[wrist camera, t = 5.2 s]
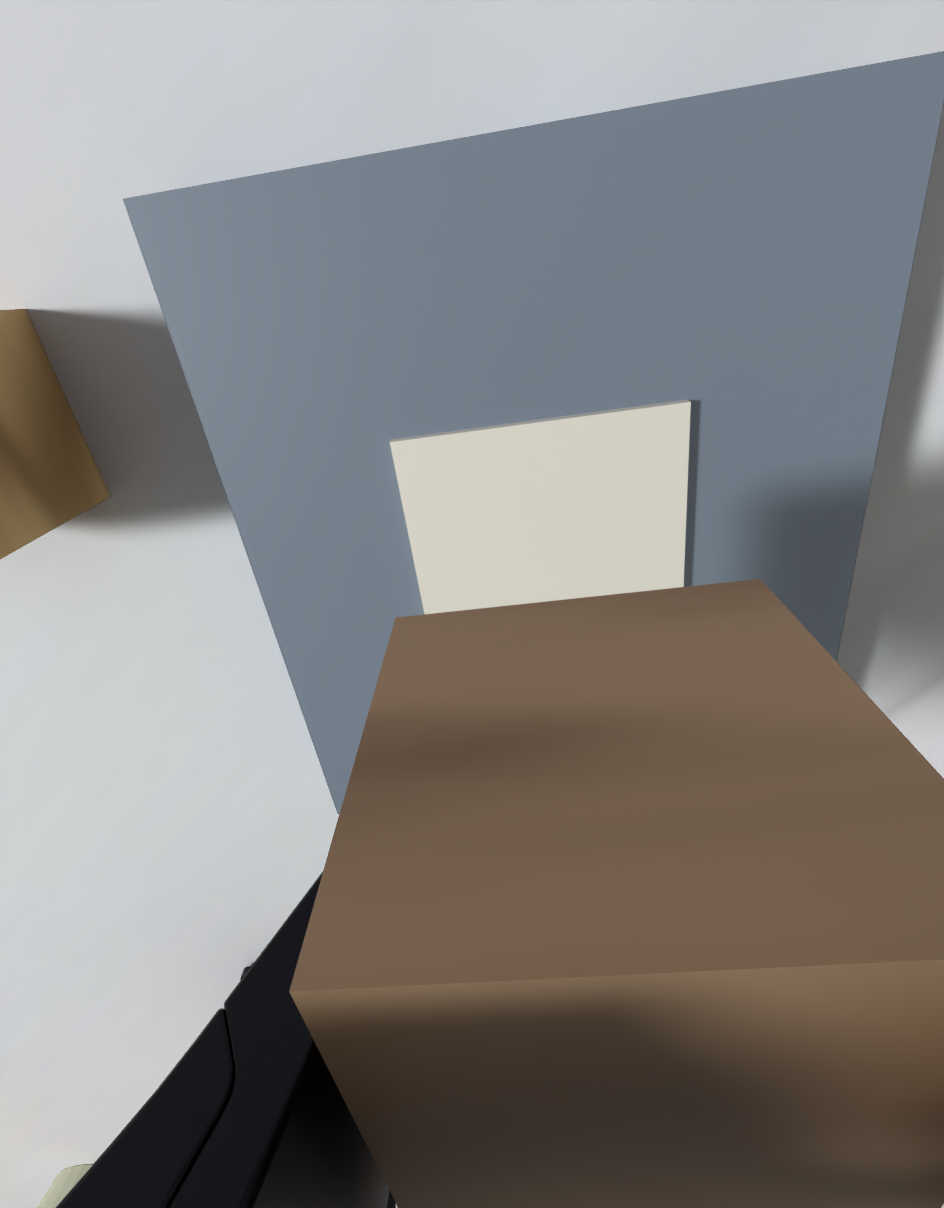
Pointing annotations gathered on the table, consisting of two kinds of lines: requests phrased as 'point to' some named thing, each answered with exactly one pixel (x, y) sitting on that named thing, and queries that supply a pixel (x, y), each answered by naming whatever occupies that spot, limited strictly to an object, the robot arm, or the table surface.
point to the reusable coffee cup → (63, 1185)
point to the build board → (552, 361)
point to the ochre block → (38, 442)
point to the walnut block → (634, 916)
